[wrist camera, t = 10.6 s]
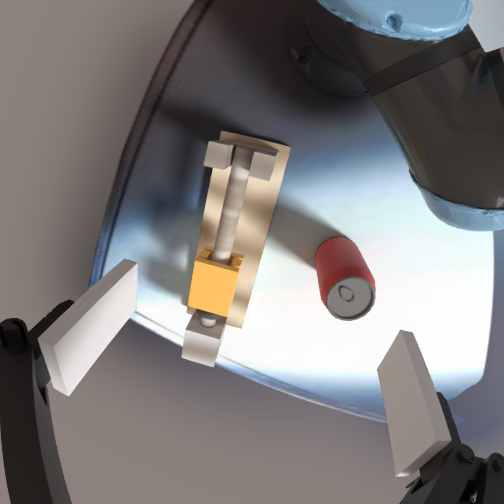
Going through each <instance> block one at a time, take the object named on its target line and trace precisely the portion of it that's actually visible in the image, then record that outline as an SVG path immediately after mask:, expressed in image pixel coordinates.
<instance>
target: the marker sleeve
mask: <svg viewBox="0 0 504 504" xmlns="http://www.w3.org/2000/svg"><path fill="white" fill-rule="evenodd" d="M213 250H214V247H212V246H208V245H206V246H205V247H204V250H202V251H201V253H200V254H199V256H198V257H197V258H196V260H195V263H194V269H193V275H192V281H191V287H190V294H189V300H188V306H190V307H193V308H197V309H200V310H204V311H207V312H211V313H214V314H218V315H221V316H225V317H227V316H228V313H229V310H230V307H231V304H232V301H233V298H234V295H235V291H236V286H237V282H238V278H239V274H240V270H241V266H242V262H243V258H244V255H242V254H238V253H234V252H231V255H230V260H229V264H228V265H225V264H221V263H217V262H214V261H211V260H212V255H213Z"/></svg>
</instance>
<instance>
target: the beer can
mask: <svg viewBox="0 0 504 504" xmlns="http://www.w3.org/2000/svg"><path fill="white" fill-rule="evenodd" d="M315 264H316V270H317V277H318V283H319V289H320V295H321V300H322V301H323V303H324V305H325V306H326V308H327V309H328V310H329V312H330V313H331V314H332V315H333V316H334V317H335V318H337V319H340V320H345V321H351V320H356V319H359V318H361V317H363V316H365V315H366V314H367V313H368V312H369V311H370V310H371V308H372V307H373V305H374V302H375V291H376V290H375V280H374V278H373V276H372V274H371V272H370V270H369V268H368V266H367V264H366V262H365V260H364V259H363V257H362V255H361V253H360V251H359V249H358V247H357V245H356V244H355V243H354V242H352V241H351V240H349V239H347V238H344V237H335V238H330V239H329V240H327V241H325V242H323V244H322V245H321V246H320V247H319V248H318V250H317V252H316V256H315Z"/></svg>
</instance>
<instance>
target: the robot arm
mask: <svg viewBox="0 0 504 504" xmlns="http://www.w3.org/2000/svg"><path fill="white" fill-rule="evenodd" d="M471 12H472V2H471V1H470V0H305V2H304V3H303V4H301V5H300V6H299V7H298V8H297V10H296V11H295V12H294V14H293V16H292V18H291V20H290V22H289V26H288V31H287V44H288V50H289V53H290V56H291V59H292V61H293V63H294V65H295V66H296V68H297V69H298V70H299V72H300V73H301V74H302V75H303V76H304V77H305V78H306V79H307V80H308V81H309V82H311V83H312V84H313V85H315V86H316V87H318V88H320V89H322V90H324V91H326V92H328V93H331V94H335V95H339V96H344V97H360V96H366V95H370V96H371V99H372V100H373V102H374V104H375V105H376V107H377V109H378V110H379V112H380V114H381V115H382V117H383V119H384V121H385V122H386V124H387V126H388V128H389V129H390V131H391V133H392V135H393V137H394V139H395V141H396V142H397V144H398V146H399V148H400V150H401V152H402V154H403V156H404V158H405V160H406V162H407V164H408V166H409V173H410V176H411V178H412V180H413V182H414V183H415V184H416V185H417V187H418V188H419V189H420V191H421V193H422V195H423V198H424V200H425V202H426V204H427V206H428V208H429V209H430V210H431V211H432V212H433V214H434V215H435V216H436V217H437V218H439V219H440V220H441V221H443V222H444V223H446V224H448V225H450V226H453V227H455V228H459V229H463V230H469V231H494V230H499V229H503V228H504V47H501V48H499V49H496V50H493V51H490V52H485V51H484V50H483V48H482V46H481V45H480V43H479V41H478V39H477V38H476V36H475V34H474V33H473V31H472V29H471V28H470V26H469V24H468V20H469V17H470V15H471ZM137 275H138V263H137V262H134V261H131V260H127V259H124V260H122V261H121V262H120V263H119V264H118V265H116V266H115V267H114V268H113V269H112V270H111V271H110V272H108V273H107V274H106V275H105V276H104V277H103V278H102V279H100V280H99V281H98V282H97V283H96V284H95V285H94V286H93V287H91V288H90V289H89V290H88V291H87V292H86V293H85V294H84V295H83V296H82V297H81V298H79V300H77V301H76V302H74V301H72V300H67V301H64V302H62V303H60V304H58V305H57V306H56V307H55V308H54V309H53V310H52V312H50V313H48V314H47V315H46V317H44V318H43V319H42V320H41V321H40V322H39V323H38V324H37V325H35V326H34V327H33V328H32V329H31V330H30V331H29V332H28V330H27V326H26V324H25V323H24V321H23V320H21V319H18V318H10V319H6V320H4V321H3V322H1V323H0V427H1V428H0V429H1V442H2V453H3V461H4V468H5V475H6V481H7V487H8V492H9V497H10V502H11V504H72V503H71V500H70V496H69V493H68V489H67V486H66V483H65V479H64V475H63V471H62V468H61V463H60V459H59V455H58V450H57V446H56V441H55V436H54V431H53V424H52V418H51V412H50V405H49V398H48V389H47V386H46V384H47V383H48V382H49V381H50V379H51V381H52V384H53V387H54V388H55V389H57V390H58V391H60V392H62V393H63V394H65V395H67V396H69V395H70V394H71V393H72V391H73V390H74V388H75V387H76V386H77V384H78V383H79V382H80V380H81V379H82V378H83V376H84V375H85V374H86V372H87V371H88V370H89V369H90V367H91V366H92V364H93V363H94V362H95V361H96V359H97V358H98V357H99V355H100V354H101V353H102V352H103V350H104V349H105V348H106V346H107V345H108V344H109V343H110V341H111V340H112V339H113V338H114V336H115V335H116V334H117V333H118V331H119V330H120V329H121V327H122V326H123V325H124V324H125V323H126V321H127V320H128V319H129V318H130V316H131V315H132V314H133V313H134V311H135V310H136V309H137ZM377 372H378V376H379V381H380V385H381V390H382V395H383V400H384V405H385V411H386V416H387V422H388V427H389V433H390V439H391V446H392V451H393V459H394V466H395V474H396V476H411V475H412V474H414V473H415V472H416V471H417V470H419V469H420V476H419V477H418V478H416V479H415V480H414V481H412V482H411V483H410V484H408V485H407V487H406V488H409V487H410V486H411V485H412V486H411V488H410V489H409V491H408V492H407V494H406V495H405V497H404V498H403V500H402V501H401V502H400V504H504V457H503V456H502V455H501V454H499V453H493V454H491V455H490V456H489V457H488V458H486V459H483V458H479V457H475V455H474V452H473V451H472V449H471V448H470V447H469V446H467V445H465V444H461V441H460V438H459V435H458V432H457V429H456V426H455V423H454V420H453V419H452V414H451V411H450V408H449V405H448V402H447V400H446V399H445V398H444V396H443V395H442V394H441V392H436V391H435V388H434V385H433V382H432V380H431V377H430V374H429V372H428V369H427V366H426V364H425V361H424V359H423V356H422V354H421V351H420V349H419V346H418V344H417V342H416V339H415V337H414V335H413V332H408V331H403V330H400V331H399V333H398V335H397V336H396V338H395V340H394V342H393V344H392V345H391V347H390V349H389V350H388V352H387V354H386V355H385V357H384V359H383V360H382V362H381V364H380V365H379V367H378V369H377ZM475 496H476V501H475V502H474V498H475Z"/></svg>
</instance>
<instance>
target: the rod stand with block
mask: <svg viewBox="0 0 504 504" xmlns="http://www.w3.org/2000/svg"><path fill="white" fill-rule="evenodd" d="M290 148H291V147H289V146H285V145H282V144H278V143H274V142H270V141H266V140H262V139H258V138H253V137H249V136H245V135H240V134H236V133H231V132H226V131H221V134H220V139H219V140H216V141H209V143H208V147H207V152H206V157H205V161H204V166H208V167H212V168H213V170H212V175H211V180H210V185H209V190H208V195H207V200H206V205H205V210H204V215H203V220H202V225H201V231H200V236H199V242H198V247H197V253H196V258H197V257H198V256H199V254H200V253H201V251H202V250H204V247H205V246H206V245H208V246H212V247H214V250H213V255H212V260H211V261H214V262H217V263H221V264H225V265H228V264H229V260H230V255H231V252H234V253H238V254H242V255H244V258H243V262H242V266H241V270H240V274H239V278H238V282H237V286H236V291H235V295H234V298H233V301H232V304H231V307H230V310H229V313H228V316H227V317H225V316H221V315H218V314H214V313H211V312H207V311H204V310H200V309H197V308H193V307H190V306H188V308H187V313H189V314H192V315H193V316H192V318H191V320H190V322H189V324H188V326H187V328H186V330H185V337H184V344H183V352H182V358H185V359H188V360H191V361H194V362H198V363H202V364H204V365H208V366H212V367H214V364H215V361H216V358H217V355H218V352H219V349H220V346H221V342H222V338H223V334H224V329H225V325H226V324H227V325H230V326H234V327H238V328H242V325H243V321H244V318H245V314H246V310H247V307H248V303H249V300H250V296H251V292H252V289H253V285H254V282H255V278H256V274H257V271H258V267H259V263H260V260H261V256H262V252H263V249H264V245H265V241H266V238H267V234H268V230H269V227H270V223H271V219H272V216H273V212H274V208H275V205H276V201H277V197H278V193H279V190H280V186H281V182H282V178H283V175H284V171H285V167H286V163H287V160H288V156H289V152H290ZM195 260H196V259H195Z"/></svg>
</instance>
